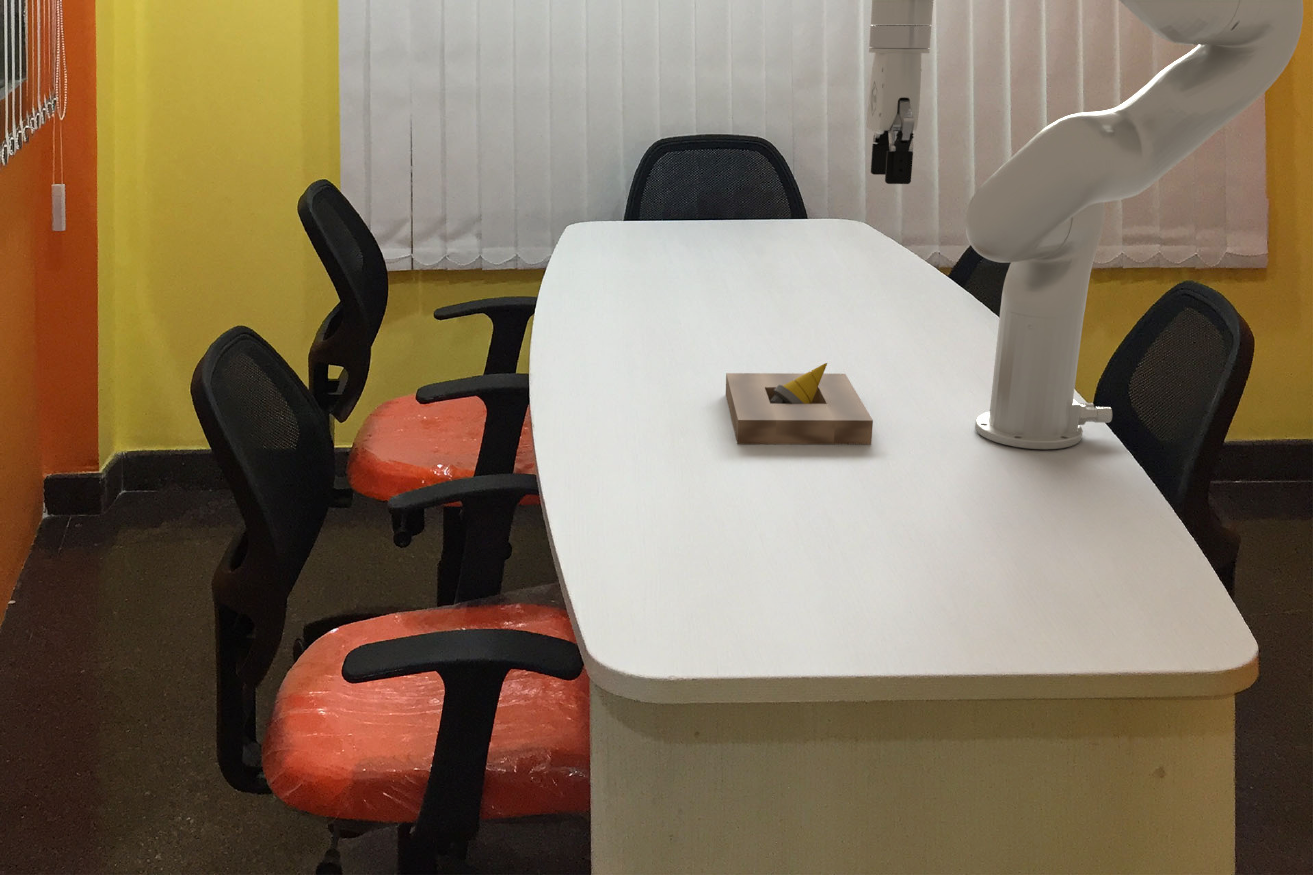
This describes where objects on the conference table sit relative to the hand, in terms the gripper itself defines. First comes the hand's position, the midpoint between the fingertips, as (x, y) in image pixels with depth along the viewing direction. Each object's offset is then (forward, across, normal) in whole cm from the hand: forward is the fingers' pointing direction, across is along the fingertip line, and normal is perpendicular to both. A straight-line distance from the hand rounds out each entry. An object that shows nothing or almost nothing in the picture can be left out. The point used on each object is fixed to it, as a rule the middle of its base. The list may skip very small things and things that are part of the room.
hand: (889, 178), depth 157 cm
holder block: (+28, +14, -13) cm, 34 cm away
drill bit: (+29, +13, -13) cm, 34 cm away
